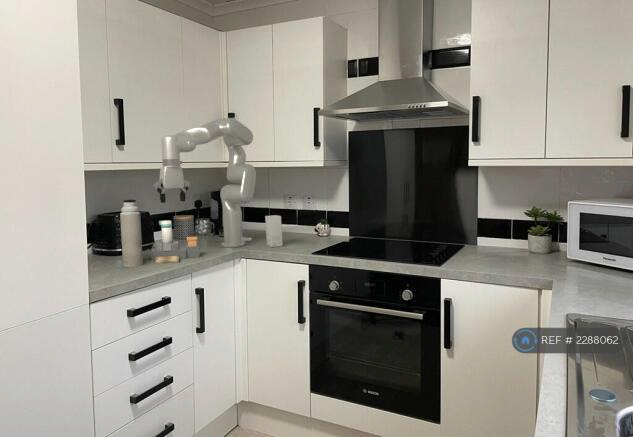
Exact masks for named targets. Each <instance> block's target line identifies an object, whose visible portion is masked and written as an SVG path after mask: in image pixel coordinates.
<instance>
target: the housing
mask: <svg viewBox="0 0 633 437" xmlns="http://www.w3.org/2000/svg"><path fill="white" fill-rule="evenodd" d="M179 244H180V242H179V241H176V240H172V243H170V244H162V241H159V242H158V241H157V242H156V243H155V248H151V251H150V258H151V259H150V260H151V261H155V258H156V257H166V256H179V260H184V259H189V258H200V245H199V244H197V243H196V244H197V246H191V247H188V244H185V246H179Z"/></svg>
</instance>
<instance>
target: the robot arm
mask: <svg viewBox="0 0 633 437" xmlns="http://www.w3.org/2000/svg"><path fill="white" fill-rule="evenodd" d="M221 137H222V141H223V143H224V145H225V146H226V147H227V149H228V153H229V155H228V156H229V157H228V158H229V159H228V165H227V171H226V178H227V181H229V182H230V183H235V184H227V185H224V186H223V187H221V189H220V200H221V205H222V220H223V221H222V222H223V242H221V244H220V245H221V247H223V248H238V247H239V248H240V247H245V246H246V244H247V243H246V242H252V239H253V238H252V237H246V236H245V237H244V235H243V216H242V215H243V212H242V208H241V206H240V204H241V205H243V204H244V205H245V204H250V202H251V201H252V200H253V197H254V193H255V189H256V188H255V187H256V181H257V171H256V168H255V167H254V166H253V165H252V164H249V163H246V161H247V160H246V159H247V155H246V151H245V149H244V147H243V146H249V145H251V144H252V143H253V140H254V134H253V132H252V131H251V130H250V128H249V127H247V126H245V124H243V123H241V122H240V121H239V120H237V119H235V118H232V117H226V118H216V119H215V120H211V121H209V122H208V123H205V124H202V125H200V126H197V127H194V128H193V127H192V128H191V129H187V130H184V131H180V132H178V133H176V134H174V135H164V136H162V137H161V155H162V156H161V160H162V166H161V167H160V170H159V180H158V181H156V182H155V183H153V187H154V189H155V190H156V191H157V193H158V194H159V201H160V203H161V204H165V203H166V193H165V192H166V191H167V190H179V191H180V193H179V200H180V202H186V193H187V191H188V190H189V187H190V184H191V182H189V181H188V180H185V178H184V172H183V167H182V166H181V165H183V161H182V160H181V155H180V153H190V152H193V151H195V150H196V147H197V146H199V145H204V144H208V143H210V142H212V141H214V140H217V139H219V138H221ZM236 183H237V184H236ZM238 183H240V184H238Z"/></svg>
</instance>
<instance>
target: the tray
mask: <svg viewBox="0 0 633 437" xmlns="http://www.w3.org/2000/svg"><path fill="white" fill-rule="evenodd" d="M169 263H170V264H171V263H172V264H173V263H180V259H179V256H166V257H156V258H155V260H154V264H155V265H156V264H169Z"/></svg>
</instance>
